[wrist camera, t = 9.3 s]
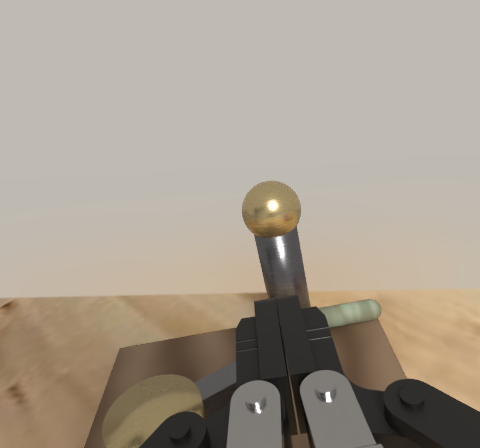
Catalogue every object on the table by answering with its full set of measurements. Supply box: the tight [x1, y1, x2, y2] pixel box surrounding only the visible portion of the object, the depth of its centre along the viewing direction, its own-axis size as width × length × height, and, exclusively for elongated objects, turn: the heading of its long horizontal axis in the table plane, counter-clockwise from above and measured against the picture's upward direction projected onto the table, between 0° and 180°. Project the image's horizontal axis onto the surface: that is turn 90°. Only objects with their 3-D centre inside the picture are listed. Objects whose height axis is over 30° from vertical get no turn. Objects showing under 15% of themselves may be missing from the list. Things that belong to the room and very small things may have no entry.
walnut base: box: [84, 299, 407, 448], centre depth 32 cm, size 24×18×3 cm
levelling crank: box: [102, 181, 311, 448], centre depth 30 cm, size 18×7×15 cm, turn 116°
